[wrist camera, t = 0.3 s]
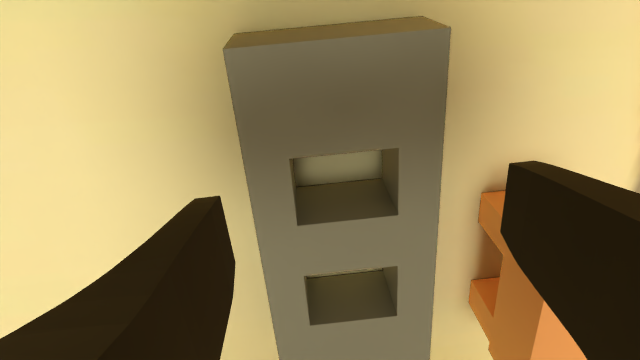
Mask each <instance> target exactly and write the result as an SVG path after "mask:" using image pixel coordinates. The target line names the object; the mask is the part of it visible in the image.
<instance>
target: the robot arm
mask: <svg viewBox="0 0 640 360" xmlns="http://www.w3.org/2000/svg"><path fill="white" fill-rule="evenodd" d="M500 233H501V235H502V236H503V238H504V240H505V242H506V244H507V246H508V248H509V250H510V252H511V254H512V255H513V257H514V259H515V261H516V263H517V264H518V266H519V267H520V268H521V270H522V271H523V273H524V274H525V275H526V277H527V278H528V279H529V281H530V282H531V284H532V285H533V286H534V288H535V289H536V290H537V292H538V293H539V294H540V296H541V297H542V298H543V300H544V301H545V302H546V304H547V305H548V306H549V307H550V309H551V310H552V311H553V313H554V314H555V315H556V317H557V318H558V319H559V321H560V322H561V323H562V325H563V326H564V327H565V329H566V330H567V331H568V333H569V334H570V335H571V337H572V338H573V339H574V341H575V342H576V344H577V345H578V347H579V348H580V350H581V351H582V352H583V354H584V355H585V357H586V359H587V360H640V194H639V193H636V192H633V191H630V190H627V189H624V188H620V187H617V186H614V185H611V184H608V183H605V182H602V181H600V180H597V179H594V178H591V177H588V176H585V175H582V174H579V173H576V172H573V171H570V170H567V169H563V168H560V167H557V166H554V165H550V164H546V163H542V162H537V161H527V162H518V163H509V169H508V176H507V184H506V191H505V199H504V206H503V214H502V221H501V229H500ZM234 276H235V259H234V254H233V250H232V246H231V241H230V237H229V233H228V228H227V224H226V220H225V215H224V211H223V207H222V202H221V198H220V196H214V197H206V198H197V199H194V200H193V201H191V202H190V203H189V204H188V205H186V206H185V207H184V208H183V209H182V210H181V211H180V212H178V213H177V214H176V215H175V216H174V217H173V218H172V219H171V220H170V221H169V222H167V223H166V224H165V225H164V226H163V227H162V228H161V229H159V230H158V231H157V232H156V233H155V234H154V235H153V236H152V237H150V238H149V239H148V240H147V241H146V242H145V243H143V244H142V245H141V246H140V247H139V248H137V249H136V250H135V251H134V252H132V253H131V254H130V255H129V256H127V257H126V258H125V259H124V260H122V261H121V262H120V263H119V264H117V265H116V266H115V267H114V268H112V269H111V270H110V271H108V272H107V273H106V274H104V275H103V276H102V277H100V278H99V279H97V280H96V281H95V282H93V283H92V284H90V285H89V286H87V287H86V288H84V289H83V290H81V291H80V292H78V293H77V294H75V295H74V296H72V297H71V298H69V299H68V300H66V301H65V302H63V303H61V304H60V305H58V306H56V307H55V308H53V309H51V310H50V311H48V312H46V313H44V314H43V315H41V316H39V317H38V318H36V319H34V320H33V321H31V322H29V323H27V324H26V325H24V326H22V327H21V328H19V329H17V330H15V331H14V332H12V333H10V334H8V335H6V336H5V337H3V338H1V339H0V360H220V356H221V352H222V347H223V342H224V338H225V333H226V328H227V324H228V319H229V314H230V309H231V304H232V299H233V289H234Z"/></svg>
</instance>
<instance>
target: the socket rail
mask: <svg viewBox="0 0 640 360" xmlns="http://www.w3.org/2000/svg"><path fill="white" fill-rule="evenodd" d="M450 34H451V27H448V26H446V25H443V24H441V23H438V22H436V21H433V20H431V19H428V18H426V17H423V16H419V17H408V18H397V19H387V20H376V21H365V22H355V23H344V24H333V25H323V26H312V27H301V28H291V29H280V30H269V31H258V32H248V33H237V34H234V35H233V36H232V37H231V39H230V40H229V41H228V43H227V44H226V45H225V47H224V48H223V53H224V59H225V64H226V70H227V75H228V81H229V86H230V92H231V97H232V103H233V108H234V114H235V119H236V125H237V130H238V136H239V141H240V147H241V152H242V157H243V163H244V168H245V174H246V179H247V185H248V190H249V196H250V201H251V207H252V212H253V218H254V223H255V229H256V234H257V240H258V245H259V250H260V256H261V261H262V267H263V272H264V278H265V283H266V289H267V294H268V300H269V305H270V311H271V316H272V322H273V327H274V333H275V338H276V344H277V349H278V354H279V360H430V346H431V331H432V315H433V299H434V284H435V268H436V253H437V237H438V221H439V206H440V190H441V175H442V159H443V143H444V128H445V112H446V97H447V81H448V65H449V50H450ZM372 150H382V178H381V179H372V180H362V181H352V182H343V183H333V184H323V185H314V186H304V187H296V184H295V176H294V167H293V159H294V158H303V157H313V156H323V155H333V154H343V153H353V152H363V151H372ZM374 268H383V270H382V271H373V272H364V273H355V274H346V275H336V276H327V277H318V278H309V279H307V276H310V275H319V274H328V273H337V272H347V271H356V270H365V269H374Z"/></svg>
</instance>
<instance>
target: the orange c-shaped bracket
mask: <svg viewBox="0 0 640 360" xmlns="http://www.w3.org/2000/svg"><path fill="white" fill-rule="evenodd" d="M504 199H505V191H496V192H487V193H481V202H480V210H479V219H478V222H479V223H480V225H481V226H482V227H483V229H484V230H485V231H486V233H487V234H488V235H489V237H490V238H491V240H492V241H493V242H494V244H495V245H496V246H497V248H498V249H499V250H500V252H501V253H502V254H503V260H502V266H501V273H500V277H496V278H487V279H478V280H471V287H470V295H469V304H470V306H471V308H472V310H473V312H474V314H475V316H476V317H477V319H478V321H479V323H480V325H481V327H482V329H483V331H484V332H485V334H486V336H487V338H488V340H489V349H488V350H489V352H490V354H491V355H492V357H493V359H494V360H587V359H586V357H585V355H584V354H583V352H582V351H581V350H580V348H579V347H578V345H577V344H576V342H575V341H574V339H573V338H572V337H571V335H570V334H569V333H568V331H567V330H566V329H565V327H564V326H563V325H562V323H561V322H560V321H559V319H558V318H557V317H556V315H555V314H554V313H553V311H552V310H551V309H550V307H549V306H548V305H547V304H546V302H545V301H544V300H543V298H542V297H541V296H540V294H539V293H538V292H537V290H536V289H535V288H534V286H533V285H532V284H531V282H530V281H529V279H528V278H527V277H526V275H525V274H524V273H523V271H522V270H521V268H520V267H519V266H518V264H517V263H516V261H515V259H514V257H513V255H512V254H511V252H510V250H509V248H508V246H507V244H506V242H505V240H504V238H503V236H502V235H501V233H500V229H501V221H502V214H503V206H504Z"/></svg>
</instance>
